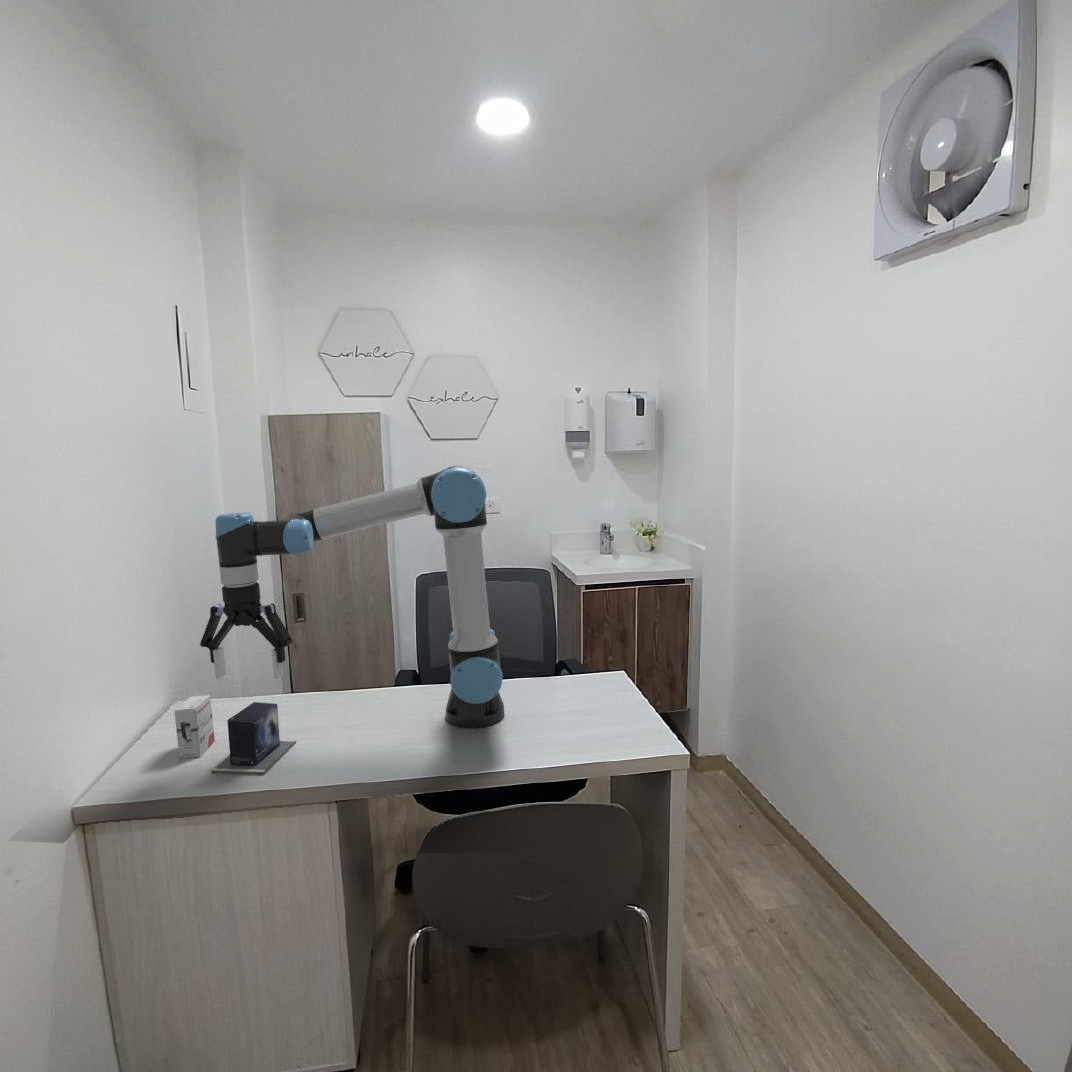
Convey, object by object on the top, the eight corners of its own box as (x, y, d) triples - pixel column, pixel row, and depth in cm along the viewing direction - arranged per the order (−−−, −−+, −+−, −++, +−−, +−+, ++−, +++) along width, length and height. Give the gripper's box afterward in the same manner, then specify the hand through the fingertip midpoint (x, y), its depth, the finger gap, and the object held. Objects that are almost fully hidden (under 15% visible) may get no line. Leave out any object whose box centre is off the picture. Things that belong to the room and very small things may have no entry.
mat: (296, 742, 153) (295, 740, 153) (263, 774, 138) (263, 771, 138) (248, 741, 154) (248, 738, 154) (211, 773, 139) (210, 770, 139)
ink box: (194, 741, 155) (190, 695, 153) (215, 740, 155) (211, 694, 154) (178, 759, 146) (172, 709, 145) (200, 757, 147) (195, 708, 145)
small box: (256, 767, 140) (252, 721, 139) (229, 765, 141) (224, 720, 140) (282, 744, 151) (278, 702, 149) (256, 743, 152) (252, 701, 150)
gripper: (302, 579, 143) (310, 670, 146) (197, 580, 146) (207, 670, 149) (286, 586, 136) (295, 682, 139) (175, 588, 138) (186, 682, 141)
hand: (249, 676), depth 144 cm, fingers open, 13 cm apart
